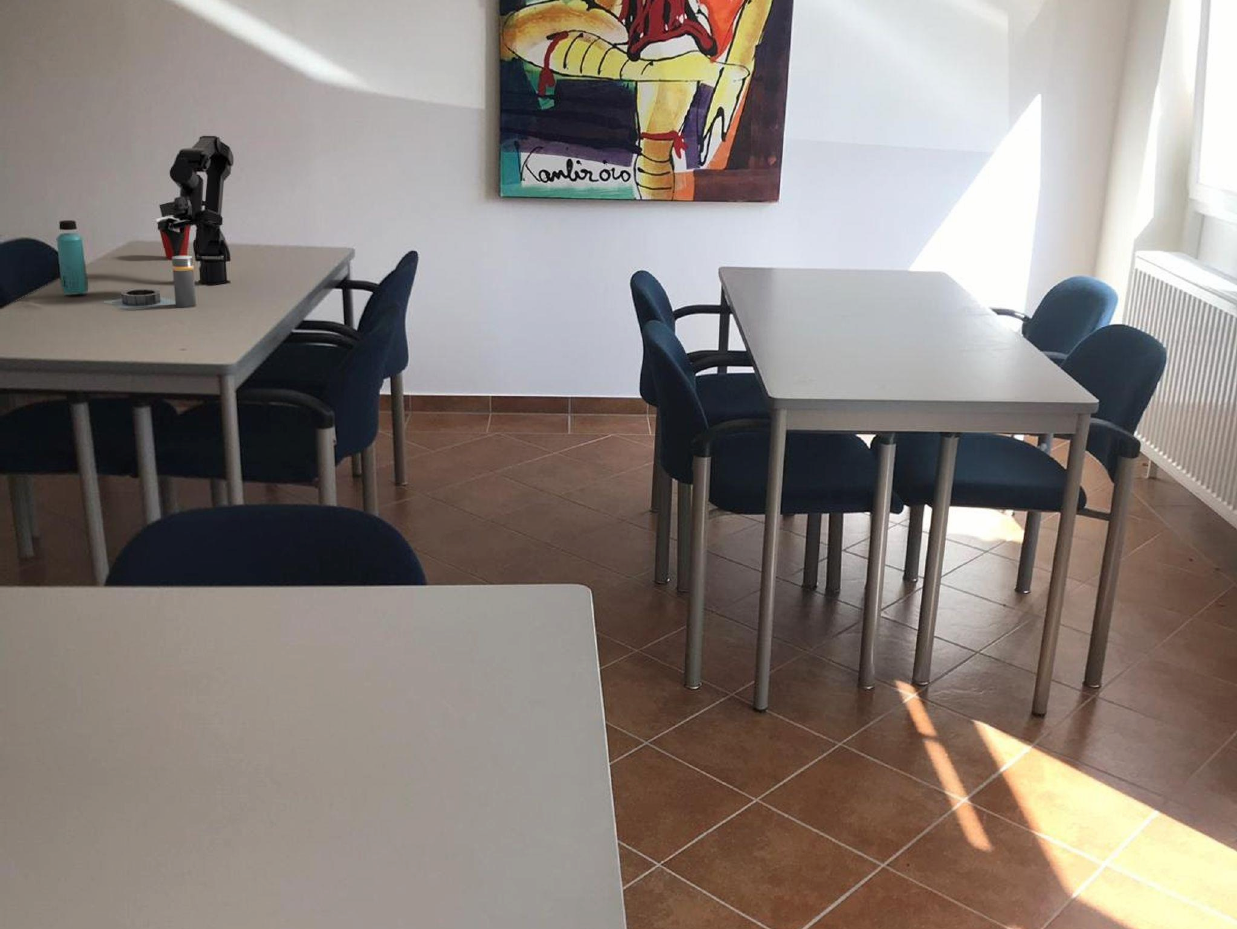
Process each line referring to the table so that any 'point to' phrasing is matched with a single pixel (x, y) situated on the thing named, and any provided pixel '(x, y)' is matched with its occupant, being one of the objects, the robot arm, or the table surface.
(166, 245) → the plastic cup
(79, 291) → the beverage bottle
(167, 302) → the blue-gray square plate
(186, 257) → the gray canister
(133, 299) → the barrel ring
